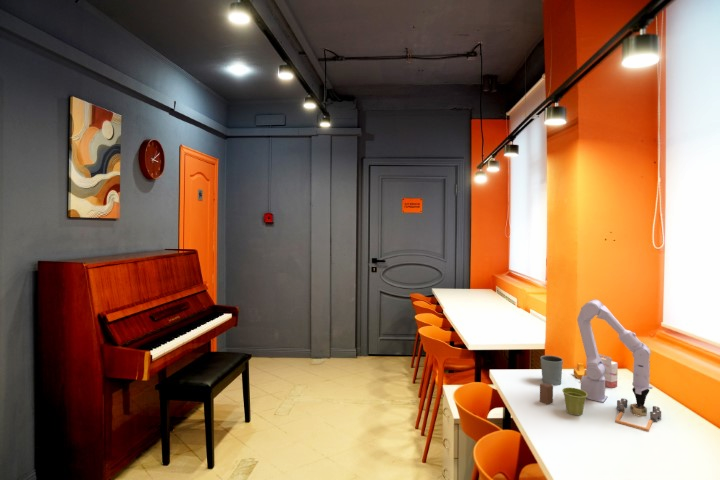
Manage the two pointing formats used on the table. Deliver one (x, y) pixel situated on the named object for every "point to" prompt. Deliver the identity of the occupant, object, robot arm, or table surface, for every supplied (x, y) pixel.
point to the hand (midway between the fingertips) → (640, 405)
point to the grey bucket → (551, 369)
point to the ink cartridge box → (610, 371)
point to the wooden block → (546, 393)
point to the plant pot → (574, 400)
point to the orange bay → (633, 424)
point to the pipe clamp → (580, 371)
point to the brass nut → (638, 409)
